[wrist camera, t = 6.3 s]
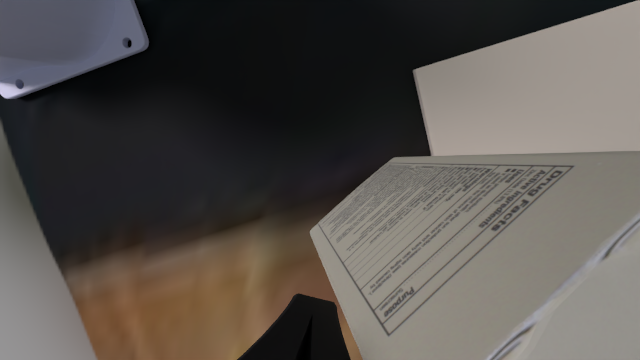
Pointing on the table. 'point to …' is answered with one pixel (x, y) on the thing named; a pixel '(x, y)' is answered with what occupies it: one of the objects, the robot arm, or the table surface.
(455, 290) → the skincare box
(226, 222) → the table surface
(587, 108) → the mat
